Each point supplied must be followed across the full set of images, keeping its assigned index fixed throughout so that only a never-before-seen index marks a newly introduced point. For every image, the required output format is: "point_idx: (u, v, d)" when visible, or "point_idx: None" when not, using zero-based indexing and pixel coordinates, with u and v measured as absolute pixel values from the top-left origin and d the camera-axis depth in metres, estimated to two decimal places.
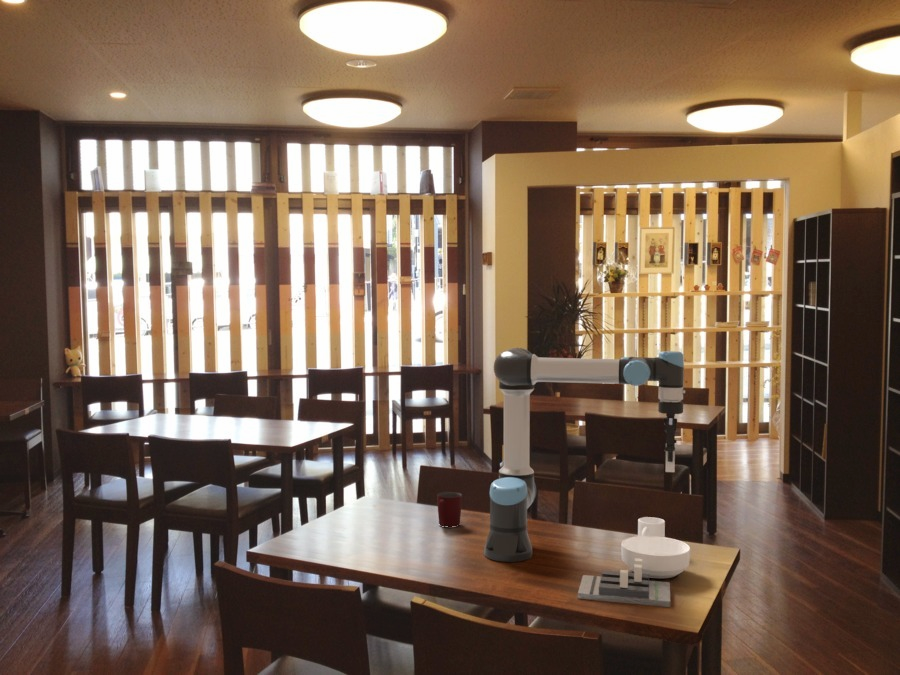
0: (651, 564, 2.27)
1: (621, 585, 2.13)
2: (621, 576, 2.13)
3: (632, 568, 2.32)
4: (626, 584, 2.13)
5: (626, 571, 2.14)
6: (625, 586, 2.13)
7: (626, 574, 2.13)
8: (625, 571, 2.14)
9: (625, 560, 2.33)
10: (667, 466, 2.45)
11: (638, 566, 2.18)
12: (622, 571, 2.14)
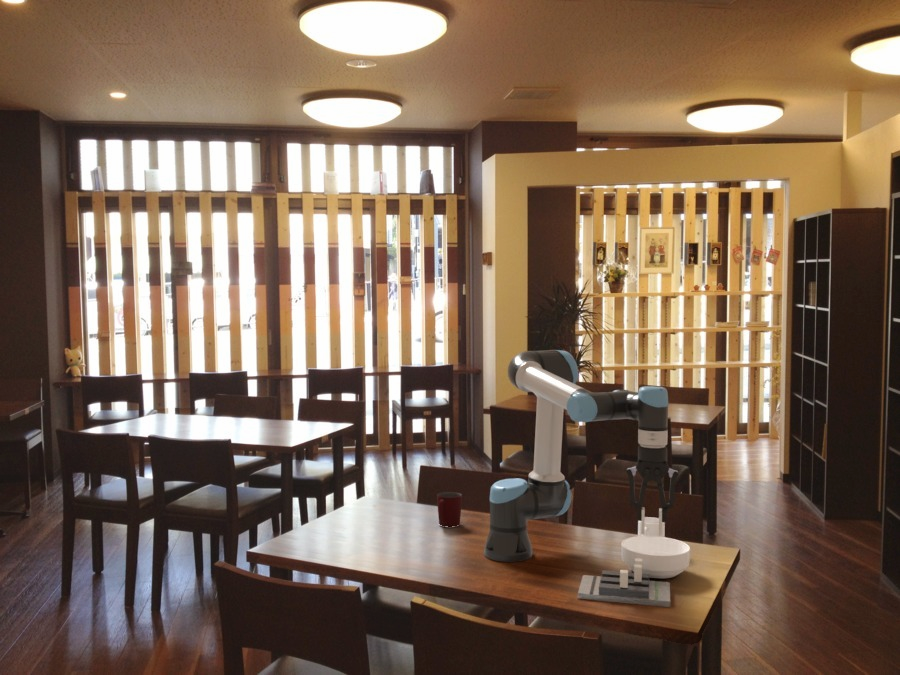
0: (651, 564, 2.27)
1: (621, 585, 2.13)
2: (621, 576, 2.13)
3: (632, 568, 2.32)
4: (626, 584, 2.13)
5: (626, 571, 2.14)
6: (625, 586, 2.13)
7: (626, 574, 2.13)
8: (625, 571, 2.14)
9: (625, 560, 2.33)
10: None
11: (638, 566, 2.18)
12: (622, 571, 2.14)
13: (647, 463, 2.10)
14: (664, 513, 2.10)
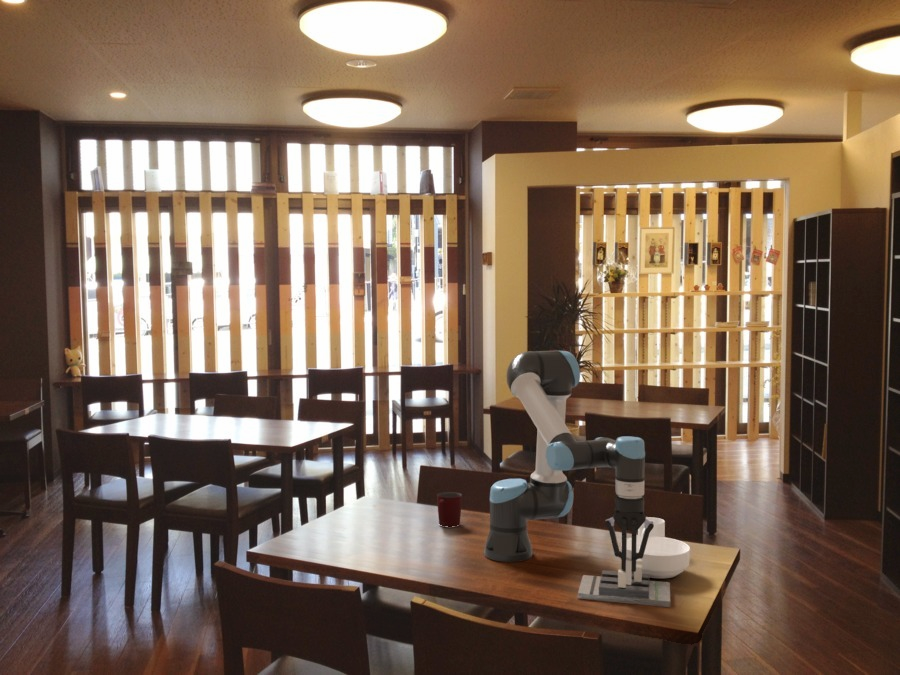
0: (651, 564, 2.27)
1: (619, 585, 2.13)
2: (619, 576, 2.13)
3: None
4: (624, 584, 2.13)
5: (624, 571, 2.14)
6: (623, 586, 2.13)
7: (624, 574, 2.13)
8: (623, 571, 2.14)
9: None
10: None
11: (638, 566, 2.18)
12: (620, 571, 2.14)
13: (623, 512, 2.13)
14: (634, 563, 2.13)
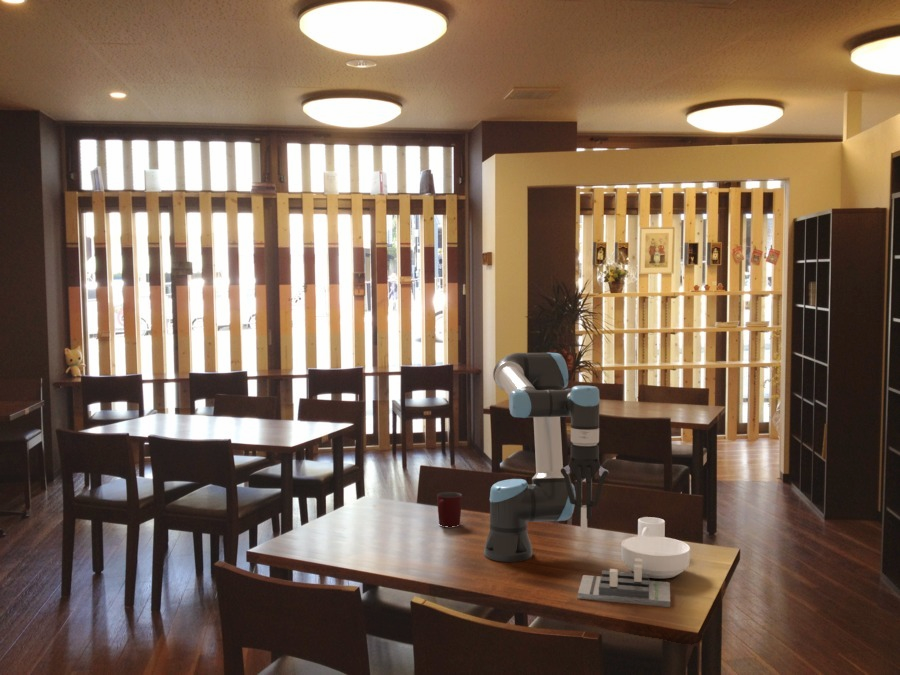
0: (651, 564, 2.27)
1: (611, 584, 2.14)
2: (611, 575, 2.14)
3: (632, 568, 2.32)
4: (616, 583, 2.14)
5: (616, 570, 2.15)
6: (615, 585, 2.14)
7: (616, 573, 2.13)
8: (615, 570, 2.15)
9: (625, 560, 2.33)
10: None
11: (638, 566, 2.18)
12: (612, 570, 2.15)
13: (578, 459, 2.15)
14: (589, 510, 2.15)
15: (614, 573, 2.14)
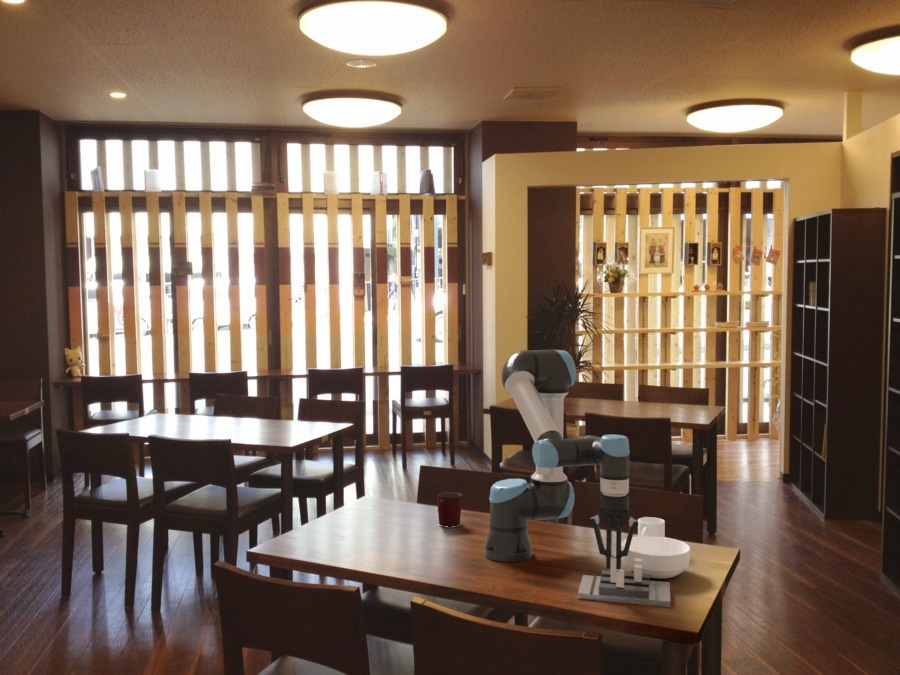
0: (651, 564, 2.27)
1: (617, 585, 2.13)
2: (617, 576, 2.13)
3: (632, 568, 2.32)
4: (622, 584, 2.13)
5: (622, 571, 2.14)
6: (621, 586, 2.13)
7: (622, 574, 2.13)
8: (621, 571, 2.14)
9: (625, 560, 2.33)
10: None
11: (638, 566, 2.18)
12: (618, 571, 2.14)
13: (608, 510, 2.13)
14: (618, 560, 2.13)
15: (620, 574, 2.13)
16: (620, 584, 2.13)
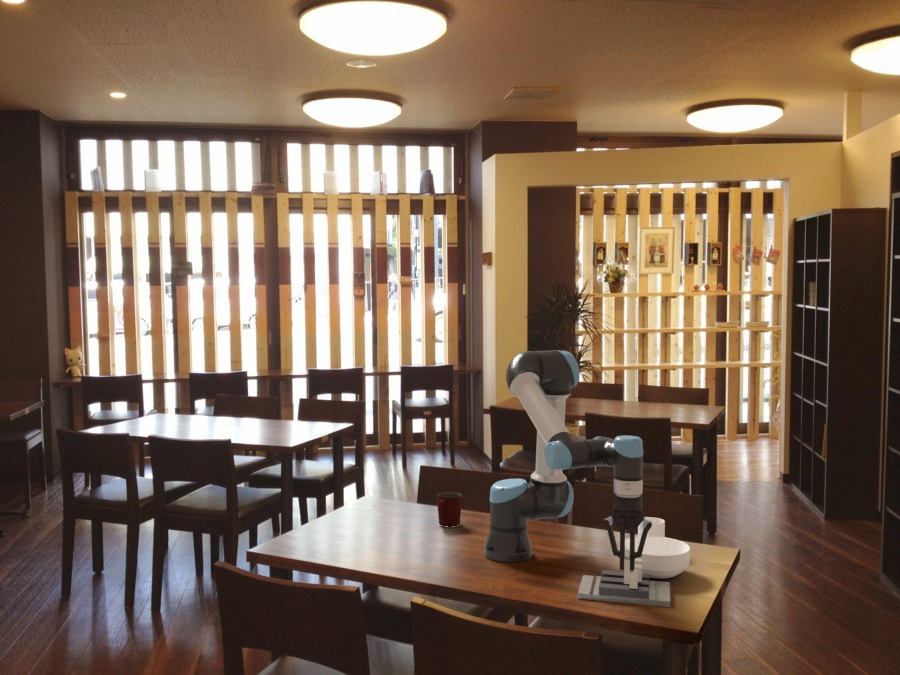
0: (651, 564, 2.27)
1: (631, 586, 2.13)
2: (631, 577, 2.12)
3: None
4: (636, 585, 2.12)
5: (636, 572, 2.13)
6: (635, 587, 2.12)
7: (636, 575, 2.12)
8: (635, 572, 2.13)
9: None
10: None
11: (638, 566, 2.18)
12: (632, 572, 2.13)
13: (621, 511, 2.13)
14: (632, 562, 2.13)
15: (634, 575, 2.12)
16: (634, 585, 2.12)
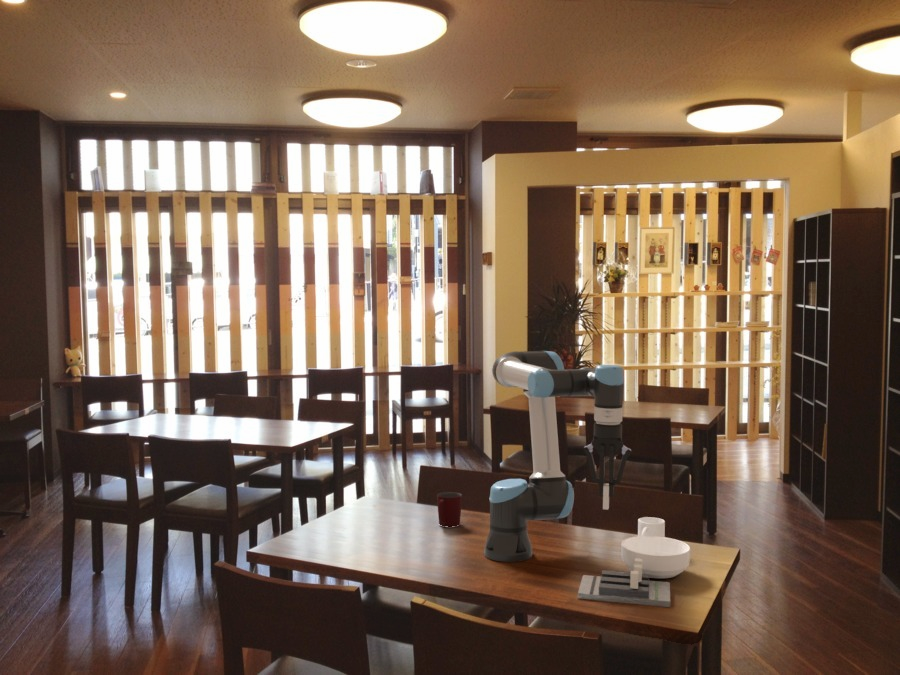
0: (651, 564, 2.27)
1: (631, 586, 2.13)
2: (631, 577, 2.12)
3: (632, 568, 2.32)
4: (636, 585, 2.12)
5: (636, 572, 2.13)
6: (635, 587, 2.12)
7: (636, 575, 2.12)
8: (635, 572, 2.13)
9: (625, 560, 2.33)
10: None
11: (638, 566, 2.18)
12: (633, 572, 2.13)
13: (601, 438, 2.16)
14: (611, 488, 2.17)
15: (635, 575, 2.12)
16: (634, 585, 2.12)
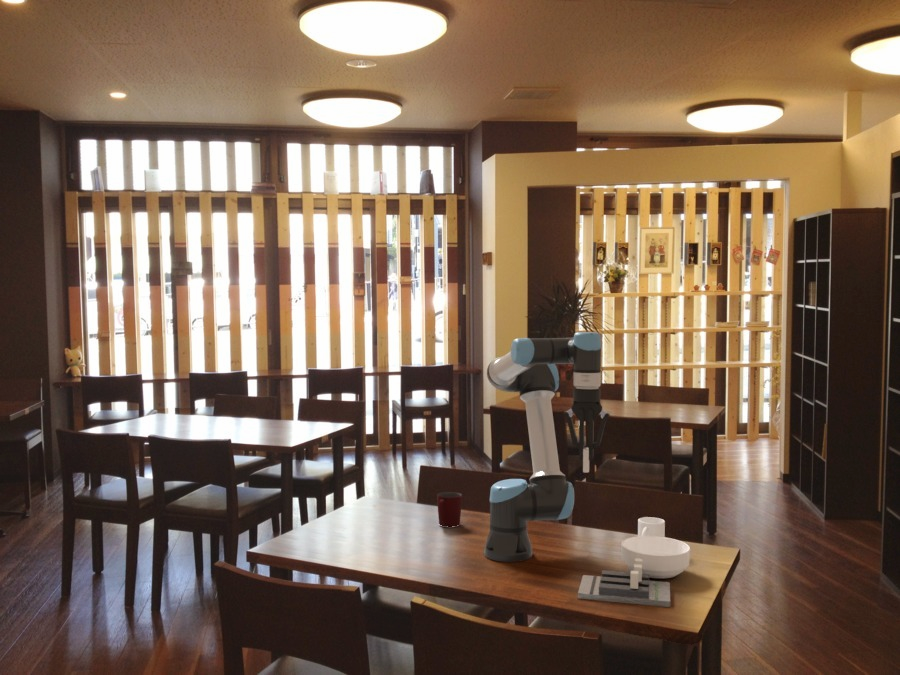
0: (651, 564, 2.27)
1: (631, 586, 2.13)
2: (631, 577, 2.12)
3: (632, 568, 2.32)
4: (636, 585, 2.12)
5: (636, 572, 2.13)
6: (635, 587, 2.12)
7: (636, 575, 2.12)
8: (635, 572, 2.13)
9: (625, 560, 2.33)
10: None
11: (638, 566, 2.18)
12: (633, 572, 2.13)
13: (581, 403, 2.23)
14: (591, 451, 2.23)
15: (635, 575, 2.12)
16: (634, 585, 2.12)
